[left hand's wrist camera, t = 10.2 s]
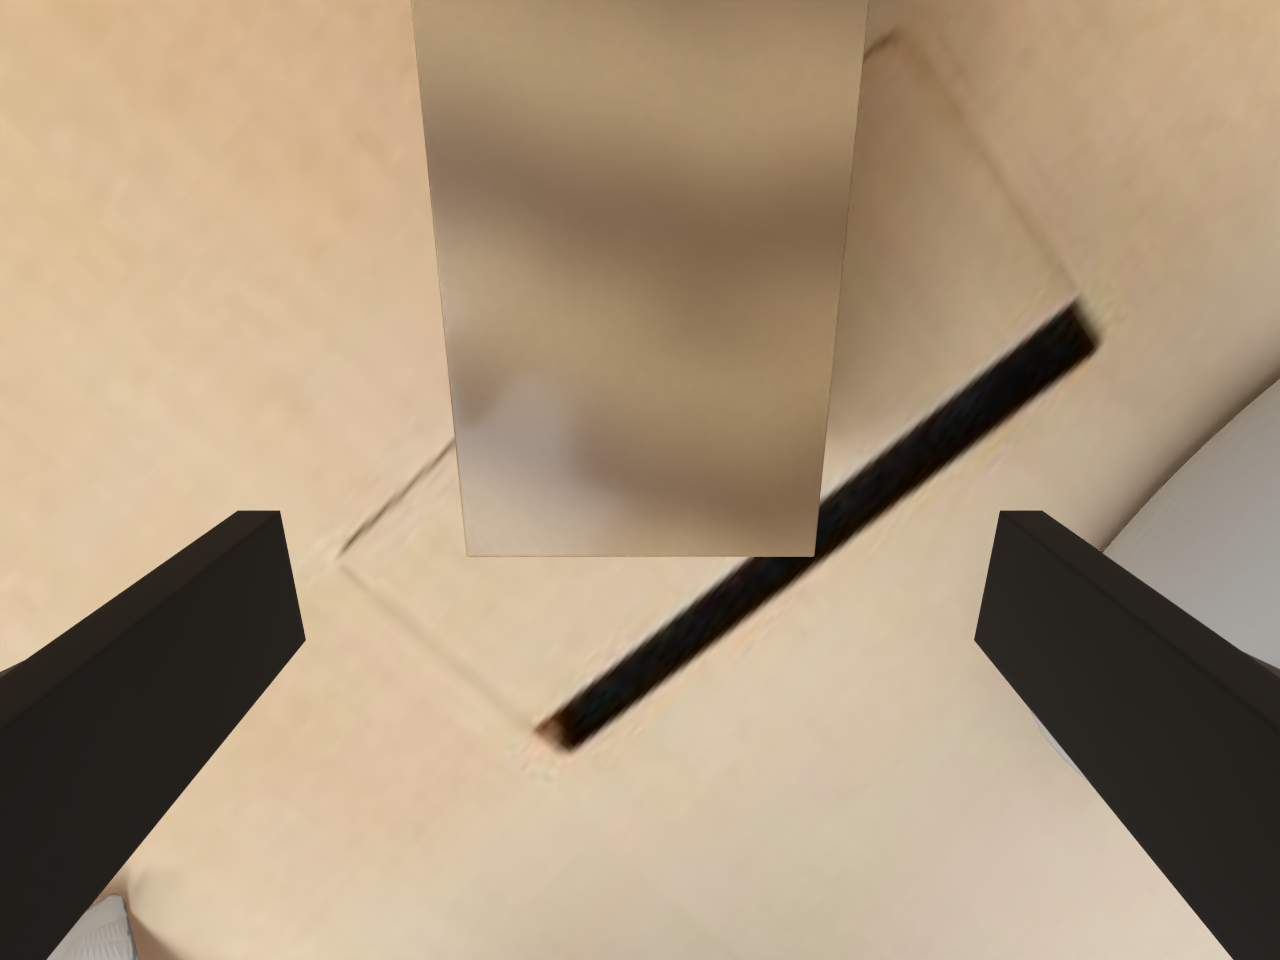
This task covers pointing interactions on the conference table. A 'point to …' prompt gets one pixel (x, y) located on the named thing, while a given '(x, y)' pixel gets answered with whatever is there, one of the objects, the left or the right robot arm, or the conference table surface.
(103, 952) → the fish
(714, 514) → the cabinet
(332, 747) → the conference table surface
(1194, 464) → the projector
